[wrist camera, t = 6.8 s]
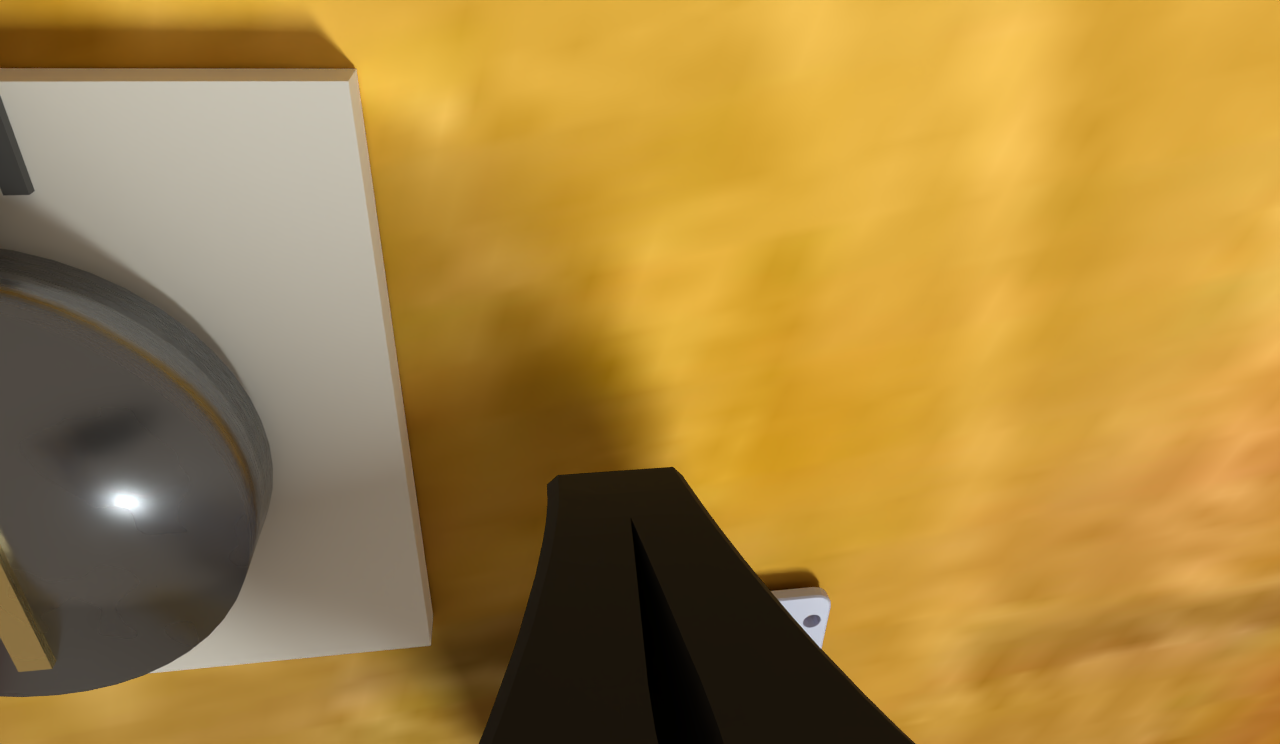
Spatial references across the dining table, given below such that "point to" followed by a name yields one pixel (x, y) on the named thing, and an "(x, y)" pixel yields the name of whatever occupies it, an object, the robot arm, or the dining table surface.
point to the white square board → (249, 312)
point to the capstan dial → (115, 482)
